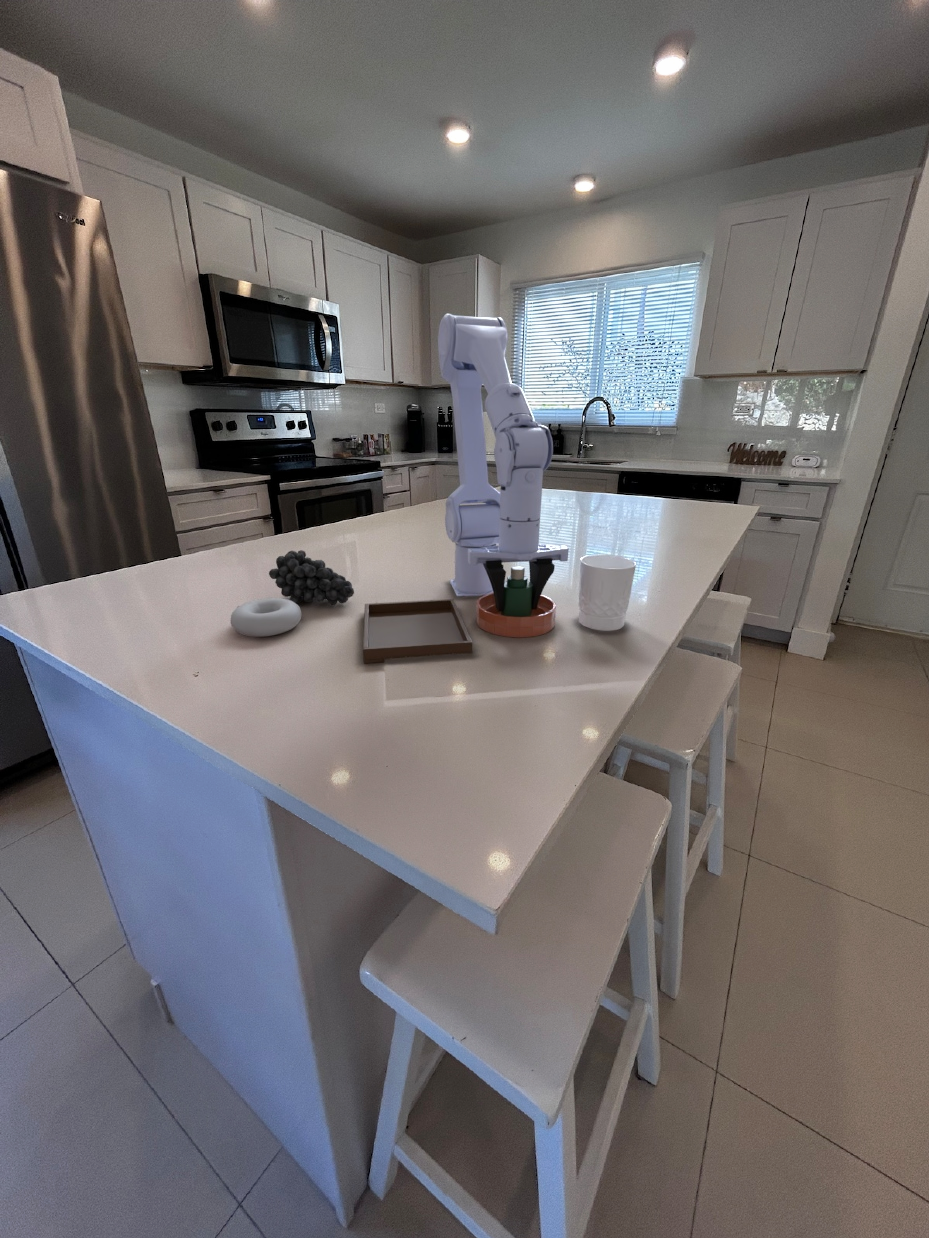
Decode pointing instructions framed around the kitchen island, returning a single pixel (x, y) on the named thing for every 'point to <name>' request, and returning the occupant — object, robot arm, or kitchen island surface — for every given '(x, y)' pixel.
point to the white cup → (605, 591)
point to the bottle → (517, 594)
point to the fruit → (309, 579)
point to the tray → (413, 630)
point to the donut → (265, 617)
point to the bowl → (515, 618)
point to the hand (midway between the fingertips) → (515, 608)
